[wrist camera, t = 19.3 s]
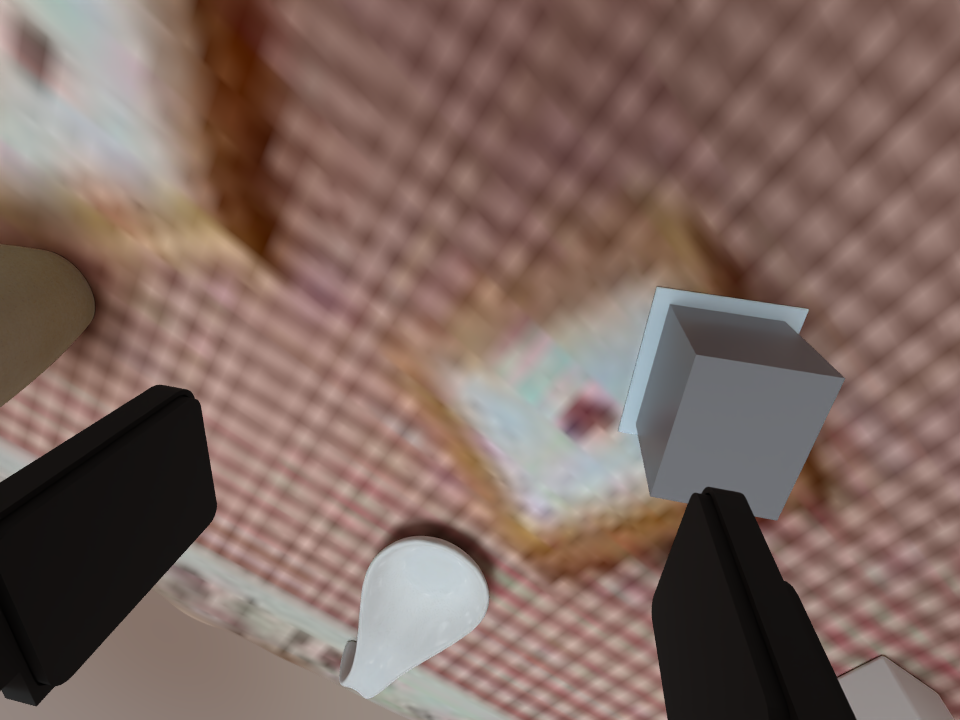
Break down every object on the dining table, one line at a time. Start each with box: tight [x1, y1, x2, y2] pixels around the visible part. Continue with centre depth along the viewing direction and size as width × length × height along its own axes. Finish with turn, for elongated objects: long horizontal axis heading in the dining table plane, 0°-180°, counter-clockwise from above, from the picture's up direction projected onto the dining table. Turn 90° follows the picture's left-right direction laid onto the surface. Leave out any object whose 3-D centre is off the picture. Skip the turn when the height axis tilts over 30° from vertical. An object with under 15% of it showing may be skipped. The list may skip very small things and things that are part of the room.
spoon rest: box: [339, 536, 489, 699], centre depth 50 cm, size 24×12×7 cm, turn 151°
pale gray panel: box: [618, 287, 809, 435], centre depth 37 cm, size 12×10×1 cm
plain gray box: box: [636, 304, 845, 520], centre depth 33 cm, size 10×8×9 cm
